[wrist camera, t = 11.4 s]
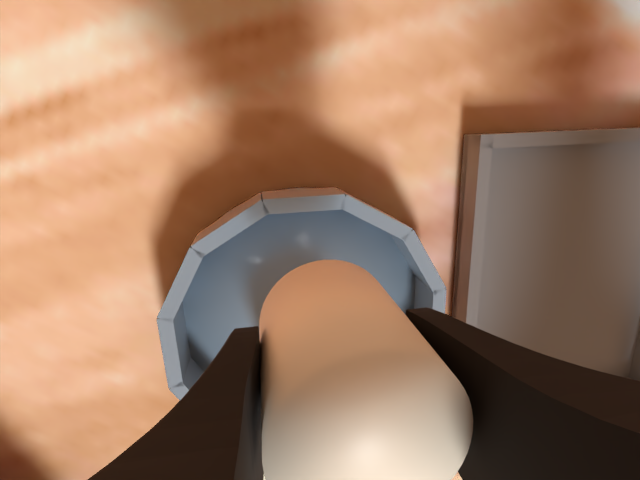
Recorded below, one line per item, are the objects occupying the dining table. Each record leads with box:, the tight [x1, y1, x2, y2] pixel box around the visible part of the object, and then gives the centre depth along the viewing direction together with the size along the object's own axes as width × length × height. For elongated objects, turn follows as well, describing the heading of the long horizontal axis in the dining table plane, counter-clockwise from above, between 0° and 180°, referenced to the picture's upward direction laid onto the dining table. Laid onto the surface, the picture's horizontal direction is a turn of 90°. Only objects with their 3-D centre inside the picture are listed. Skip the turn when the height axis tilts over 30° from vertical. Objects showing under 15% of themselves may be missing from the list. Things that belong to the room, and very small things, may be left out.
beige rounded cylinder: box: [259, 260, 473, 480], centre depth 9 cm, size 4×4×5 cm
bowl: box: [157, 187, 446, 400], centre depth 18 cm, size 12×12×3 cm
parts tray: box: [452, 127, 640, 381], centre depth 20 cm, size 15×12×1 cm
